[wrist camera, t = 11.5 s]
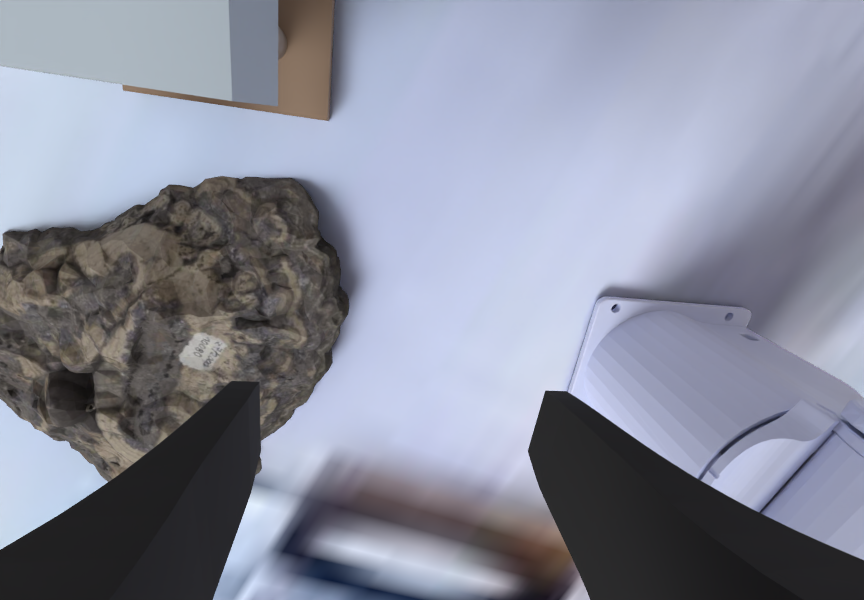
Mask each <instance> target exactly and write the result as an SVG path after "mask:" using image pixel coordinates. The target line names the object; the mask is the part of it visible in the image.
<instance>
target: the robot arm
mask: <svg viewBox="0 0 864 600" xmlns="http://www.w3.org/2000/svg"><path fill="white" fill-rule="evenodd" d="M615 304H617V306H616V307H615V308H614V309H613V310H611V308H612V306H613V305H615ZM726 314H727V315H726ZM725 316H726V317H725ZM751 316H752V314H751V311H750V310H748V309H746V308H743V307H732V306H720V305H707V304H695V303H683V302H670V301H658V300H646V299H633V298H621V297H609V296H606V297H602V298H600V299H599V300H598V301H597V302H596V304H595V307H594V310H593V314H592V317H591V320H590V323H589V326H588V329H587V333H586V336H585V339H584V342H583V345H582V348H581V352H580V355H579V358H578V361H577V364H576V367H575V371H574V374H573V377H572V380H571V383H570V386H569V390H568V392H567V391H545V394H544V398H543V401H542V404H541V408H540V411H539V415H538V418H537V422H536V425H535V428H534V432H533V435H532V439H531V442H530V446H529V449H528V453H529V456H530V460H531V463H532V466H533V470H534V473H535V476H536V479H537V482H538V485H539V488H540V490H541V492H542V494H543V497H544V499H545V501H546V503H547V505H548V507H549V510H550V512H551V514H552V516H553V518H554V520H555V522H556V525H557V527H558V529H559V531H560V533H561V535H562V537H563V539H564V542H565V544H566V546H567V548H568V550H569V552H570V554H571V556H572V558H573V561H574V563H575V565H576V567H577V569H578V571H579V573H580V576H581V578H582V580H583V583H584V585H585V587H586V590H587V592H588V595H589V597H590V600H864V398H863V397H862V396H861V395H860V394H859V393H858V392H857V391H856V390H855V389H853V388H852V387H851V386H849V385H848V384H846V383H845V382H843V381H841V380H840V379H838V378H836V377H834V376H833V375H831V374H829V373H827V372H825V371H823V370H822V369H820V368H818V367H816V366H814V365H813V364H811V363H809V362H807V361H805V360H804V359H802V358H800V357H798V356H796V355H795V354H793V353H791V352H789V351H787V350H786V349H784V348H782V347H780V346H778V345H776V344H775V343H773V342H771V341H769V340H767V339H766V338H764V337H762V336H760V335H758V334H757V333H755V332H753V331H751V330H749V329H748V328H746V327H747V325H748V323H749V321H750V319H751ZM260 452H261V433H260V382H252V381H231V382H230V383H228V384H227V385H226V386H225V387H224V388H223V389H221V390H220V391H219V392H218V393H217V394H216V395H215V396H214V397H213V398H211V399H210V400H209V401H208V402H207V403H206V404H205V405H204V406H203V407H201V408H200V409H199V410H198V411H197V412H196V413H195V414H193V415H192V416H191V417H190V418H189V419H188V420H187V421H185V422H184V423H183V424H182V425H181V426H179V427H178V428H177V429H176V430H175V431H174V432H172V433H171V434H170V435H169V436H168V437H166V438H165V439H164V440H163V441H162V442H160V443H159V444H158V445H157V446H155V447H154V448H153V449H152V450H150V451H149V452H148V453H146V454H145V455H144V456H143V457H141V458H140V459H139V460H137V461H136V462H135V463H133V464H132V465H131V466H130V467H128V468H127V469H126V470H124V471H123V472H122V473H120V474H119V475H118V476H116V477H115V478H113V479H112V480H111V481H109V482H108V483H106V484H105V485H104V486H102V487H101V488H99V489H98V490H96V491H95V492H93V493H92V494H90V495H89V496H87V497H86V498H84V499H83V500H81V501H80V502H78V503H77V504H75V505H74V506H72V507H71V508H69V509H68V510H66V511H64V512H63V513H61V514H60V515H58V516H57V517H55V518H53V519H52V520H50V521H48V522H47V523H45V524H43V525H41V526H40V527H38V528H36V529H35V530H33V531H31V532H30V533H28V534H26V535H25V536H23V537H21V538H20V539H18V540H16V541H14V542H13V543H11V544H9V545H8V546H6V547H4V548H3V549H1V550H0V600H213V597H214V594H215V591H216V588H217V586H218V583H219V580H220V577H221V574H222V572H223V569H224V566H225V563H226V561H227V558H228V555H229V552H230V550H231V547H232V544H233V541H234V539H235V536H236V533H237V530H238V528H239V525H240V522H241V519H242V516H243V514H244V511H245V508H246V505H247V502H248V499H249V497H250V494H251V490H252V486H253V482H254V478H255V474H256V469H257V465H258V461H259V456H260Z"/></svg>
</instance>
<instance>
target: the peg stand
mask: <svg viewBox="0 0 864 600" xmlns="http://www.w3.org/2000/svg"><path fill="white" fill-rule="evenodd" d="M334 5H335V0H278V106H270V105H262V104H253V103H244V102H235V101H228V100H221V99H215V98H208V97H201V96H195V95H188V94H182V93H175V92H168V91H162V90H155V89H148V88H142V87H135V86H129V85H123V90H124V91H131V92H137V93H144V94H151V95H158V96H164V97H171V98H178V99H185V100H191V101H198V102H205V103H211V104H218V105H225V106H232V107H238V108H245V109H252V110H258V111H265V112H272V113H279V114H285V115H292V116H299V117H305V118H312V119H319V120H326V121H329V118H330V96H331V73H332V50H333V28H334Z"/></svg>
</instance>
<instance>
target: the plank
mask: <svg viewBox="0 0 864 600" xmlns="http://www.w3.org/2000/svg"><path fill="white" fill-rule="evenodd" d="M0 66H3V67H9V68H16V69H23V70H29V71H36V72H43V73H49V74H56V75H62V76H69V77H76V78H82V79H89V80H96V81H102V82H109V83H115V84H122V85H129V86H135V87H142V88H148V89H155V90H162V91H168V92H175V93H182V94H188V95H195V96H201V97H208V98H215V99H221V100H228V101H235V102H244V103H253V104H262V105H270V106H278V0H0Z"/></svg>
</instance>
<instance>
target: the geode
mask: <svg viewBox="0 0 864 600" xmlns="http://www.w3.org/2000/svg"><path fill="white" fill-rule="evenodd" d="M318 219H319V212H318V210H317V208H316V206H315V205H314V203H313V201H312V199H311V196H310V195H309V194H308V193H307V191H306V190H305V189H304V188H303V187H302V185H300V184H299V183H298V182H296V181H295V180H293V179H292V178H284V179H267V178H259V177H245V178H243V179H239V178H231V177H224V176H220V177H214V178H209V179H205V180H204V181H203V182H202V183H201V184H199V185H198V186H196V187H194V188H192V187H186V186H181V185H168V186H167V187H166V188H164V189H162V190H161V191H160V193H159V195H158V196H157V197H156V198H154V199H152V200H151V201H149V202H148V203H147V204H145V205H135V206H133V207H132V208H131V209H129V210H127V211H126V212H124V213H122V214H121V215H119V216H118V217H117V218H116V219H115V220H114V221H111V222H108V223H105V224H104V225H103V226H102V227H101V228H98V229H95V230H92V231H79V230H77V229H75V228H54V227H52V228H50V229H48V230H46V231H44V232H41V231H39V230H37V229H34V230H31V231H28V232H16V231H12V232H5V233H4V234H3V246H2V248H1V250H0V399H1V400H3V401H4V402H5V403H6V404H7V406H8V407H10V408H11V409H12V410H13V411H14V412H15V413H16V414H17V415H18V416H19V417H20V418H22V419H24V420H26V421H28V422H30V423H31V424H32V425H33V427H34V428H35V429H37V430H40V431H42V432H44V433H45V434H47V435H48V436H50V437H51V438H53V440H57V441H65V440H66V441H68V442H69V443H70V446H71V448H73V449H75V450H76V451H78V452H80V453H81V454H82V456H83V457H84V458H85V459H86V460H87V461H88V462H89V463H91V464H93V465H95V467H96V469H97V471H98V472H99V473H100V475H101V476H102V477H103V478H104V479H105V480H107V481H108V482H109V481H111V480H112V479H113V478H115V477H116V476H118V475H119V474H120V473H122V472H123V471H124V470H126V469H127V468H128V467H130V466H131V465H132V464H133V463H135V462H136V461H137V460H139V459H140V458H141V457H143V456H144V455H145V454H146V453H148V452H149V451H150V450H152V449H153V448H154V447H155V446H157V445H158V444H159V443H160V442H162V441H163V440H164V439H165V438H166V437H168V436H169V435H170V434H171V433H172V432H174V431H175V430H176V429H177V428H178V427H179V426H181V425H182V424H183V423H184V422H185V421H187V420H188V419H189V418H190V417H191V416H192V415H193V414H195V413H196V412H197V411H198V410H199V409H200V408H201V407H203V406H204V405H205V404H206V403H207V402H208V401H209V400H210V399H211V398H213V397H214V396H215V395H216V394H217V393H218V392H219V391H220V390H221V389H223V388H224V387H225V386H226V385H227V384H228V383H230V382H231V381H252V382H260V433H261V440H263V439H264V438H266V437H267V436H269V435H270V434H272V433H274V432H275V431H276V430H278V429H279V428H280V427H282V426H283V425H284V424H285V423H286V422H287V421H288V420H289V419H290V418H291V417H292V415H293V413H294V409H295V408H297V407H299V406H301V405H303V404H304V403H305V402H307V400H308V399H309V397H310V395H311V393H312V392H313V388H314V386H315V385H316V383H317V382H318V381H320V380H321V378H322V377H323V376H324V374H325V373H326V372H327V371H328V370H329V368H330V366H331V364H332V363H333V362H332V350H331V347H332V346H333V344H334V343H335V341H336V339H337V337H338V335H339V333H340V326H341V324H342V323H343V321H344V320H345V318H346V316H347V315H348V311H349V299H348V296H347V294H346V293H345V291H343V290H342V288H341V287H340V286H339V284H340V275H341V269H340V260H339V257H337V252H336V250H335V249H334V247H333V246H332V245H330V244H329V243H327V242H326V241H325V240H324V239H323V238H322V236H321V234H320V231H319V230H318ZM261 469H262V465H261V459H260V457H259V461H258V465H257V469H256V474H258V473H259V472H260V471H261ZM256 474H255V475H256Z"/></svg>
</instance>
